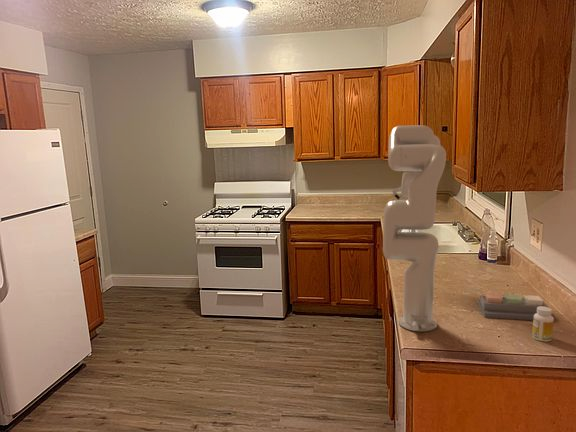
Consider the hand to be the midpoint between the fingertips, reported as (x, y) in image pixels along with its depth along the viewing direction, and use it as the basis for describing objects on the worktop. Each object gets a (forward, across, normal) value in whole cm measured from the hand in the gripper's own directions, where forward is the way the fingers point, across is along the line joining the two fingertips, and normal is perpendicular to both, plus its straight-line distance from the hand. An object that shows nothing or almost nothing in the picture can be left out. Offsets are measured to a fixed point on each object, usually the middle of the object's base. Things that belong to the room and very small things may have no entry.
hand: (413, 210), depth 186 cm
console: (+31, +34, -29) cm, 54 cm away
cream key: (+29, +40, -29) cm, 57 cm away
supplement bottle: (+31, +37, -49) cm, 69 cm away
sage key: (+29, +34, -29) cm, 53 cm away
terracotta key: (+29, +27, -29) cm, 49 cm away
